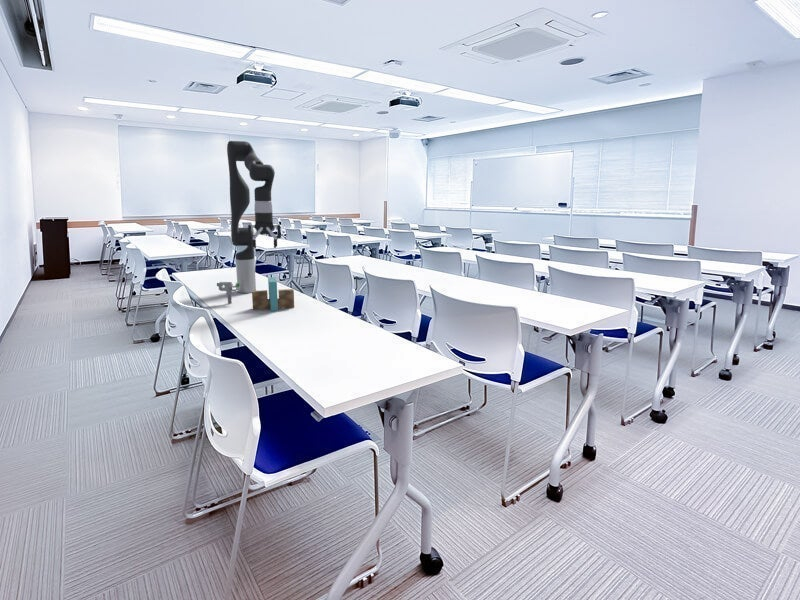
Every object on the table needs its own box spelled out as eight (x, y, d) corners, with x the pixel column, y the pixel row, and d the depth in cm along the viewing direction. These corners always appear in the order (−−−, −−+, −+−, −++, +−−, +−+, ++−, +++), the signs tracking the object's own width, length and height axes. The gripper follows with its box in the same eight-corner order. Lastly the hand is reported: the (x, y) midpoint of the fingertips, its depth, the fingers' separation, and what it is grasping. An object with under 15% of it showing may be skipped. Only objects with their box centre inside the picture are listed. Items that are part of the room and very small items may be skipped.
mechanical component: (239, 304, 220) (238, 283, 218) (217, 304, 221) (216, 282, 218) (241, 303, 223) (240, 282, 221) (220, 302, 224) (218, 281, 221)
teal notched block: (278, 310, 210) (276, 281, 207) (271, 311, 209) (269, 282, 206) (276, 304, 221) (274, 277, 218) (269, 305, 220) (268, 277, 217)
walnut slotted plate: (253, 309, 211) (252, 292, 209) (252, 308, 213) (251, 290, 212) (294, 307, 216) (293, 290, 215) (293, 306, 219) (293, 289, 217)
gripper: (246, 211, 204) (248, 249, 208) (280, 212, 208) (282, 248, 212) (246, 210, 211) (248, 247, 215) (279, 210, 215) (280, 246, 219)
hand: (265, 247), depth 214 cm, fingers open, 8 cm apart
